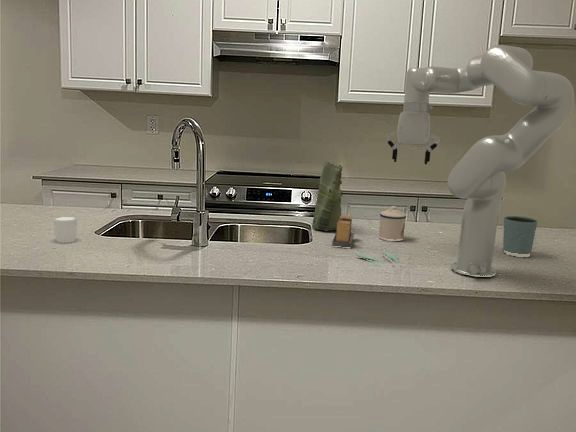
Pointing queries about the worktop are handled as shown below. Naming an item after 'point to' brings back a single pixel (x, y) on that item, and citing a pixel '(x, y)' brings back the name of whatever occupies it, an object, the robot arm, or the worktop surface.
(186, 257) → the worktop surface
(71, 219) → the white cylinder
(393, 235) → the teacup with lid
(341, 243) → the rail
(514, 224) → the teal plant pot
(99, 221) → the worktop surface
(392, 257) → the cloth
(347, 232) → the tan wooden block
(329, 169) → the pouch
